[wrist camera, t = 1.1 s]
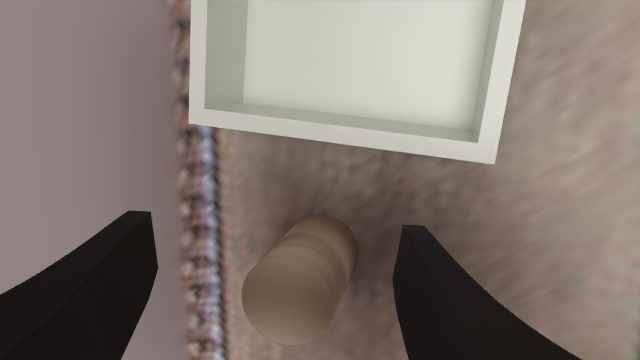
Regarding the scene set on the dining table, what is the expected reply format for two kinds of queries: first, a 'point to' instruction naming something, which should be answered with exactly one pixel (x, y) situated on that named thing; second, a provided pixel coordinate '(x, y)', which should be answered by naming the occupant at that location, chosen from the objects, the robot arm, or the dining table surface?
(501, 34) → the sage bin
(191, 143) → the dining table surface
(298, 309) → the birch cylinder
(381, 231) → the dining table surface
